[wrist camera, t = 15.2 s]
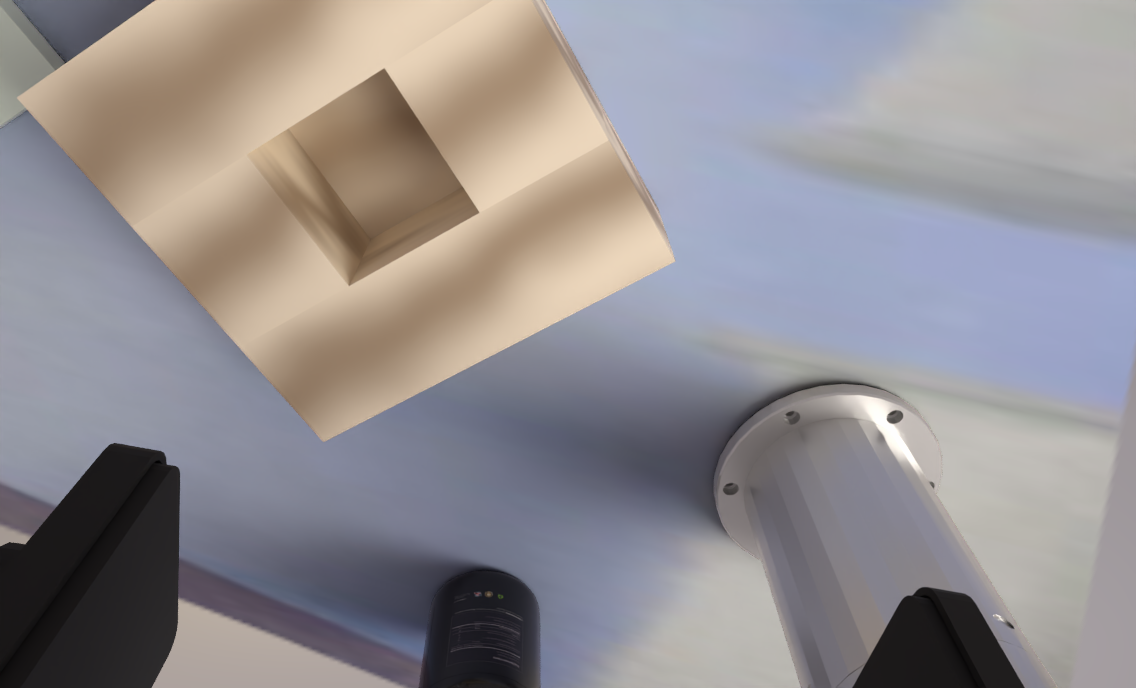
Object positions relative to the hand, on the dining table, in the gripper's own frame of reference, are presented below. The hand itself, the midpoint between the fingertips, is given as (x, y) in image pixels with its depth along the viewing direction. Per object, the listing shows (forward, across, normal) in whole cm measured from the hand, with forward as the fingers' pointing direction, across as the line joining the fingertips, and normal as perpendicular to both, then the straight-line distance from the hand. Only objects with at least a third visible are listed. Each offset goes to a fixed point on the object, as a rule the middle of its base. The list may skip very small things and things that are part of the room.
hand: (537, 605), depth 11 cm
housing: (+30, +7, +3) cm, 31 cm away
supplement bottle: (+31, -2, +31) cm, 44 cm away
